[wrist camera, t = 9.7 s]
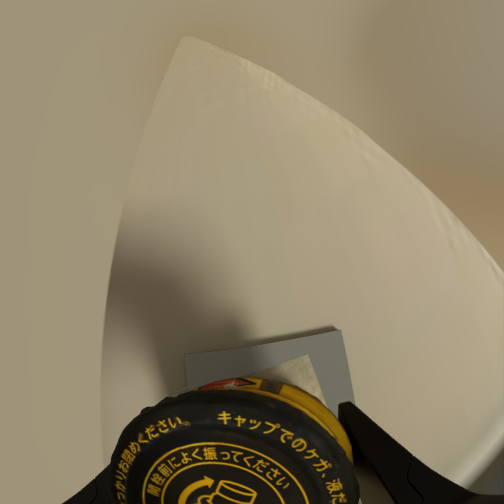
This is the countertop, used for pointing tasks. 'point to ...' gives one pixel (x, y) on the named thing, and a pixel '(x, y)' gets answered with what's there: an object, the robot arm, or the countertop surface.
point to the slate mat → (268, 355)
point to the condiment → (237, 445)
